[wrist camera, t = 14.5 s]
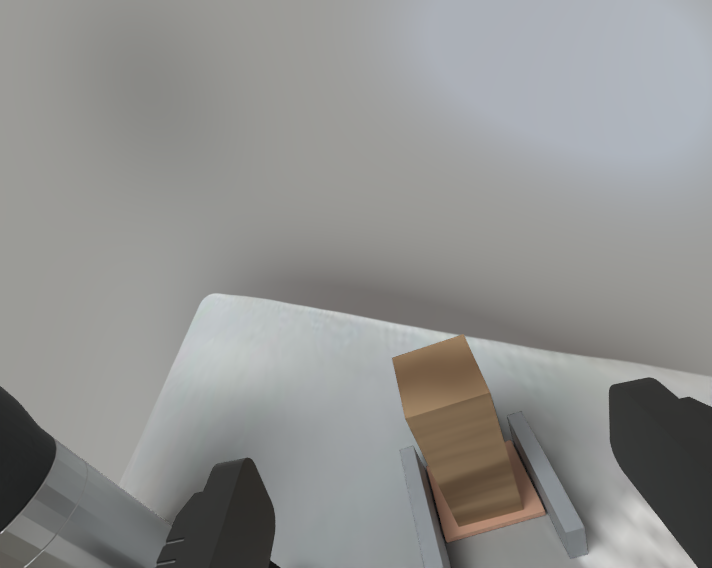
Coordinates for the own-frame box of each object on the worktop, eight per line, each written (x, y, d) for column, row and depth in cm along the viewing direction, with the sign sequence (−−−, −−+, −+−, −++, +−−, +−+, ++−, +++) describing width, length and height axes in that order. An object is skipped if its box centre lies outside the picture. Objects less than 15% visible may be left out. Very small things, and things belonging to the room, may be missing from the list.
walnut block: (523, 509, 30) (490, 392, 23) (458, 527, 31) (405, 418, 23) (498, 450, 34) (463, 334, 27) (441, 466, 35) (392, 358, 28)
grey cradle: (588, 553, 27) (584, 527, 25) (440, 594, 29) (425, 572, 26) (527, 439, 35) (521, 411, 33) (412, 474, 36) (399, 450, 34)
